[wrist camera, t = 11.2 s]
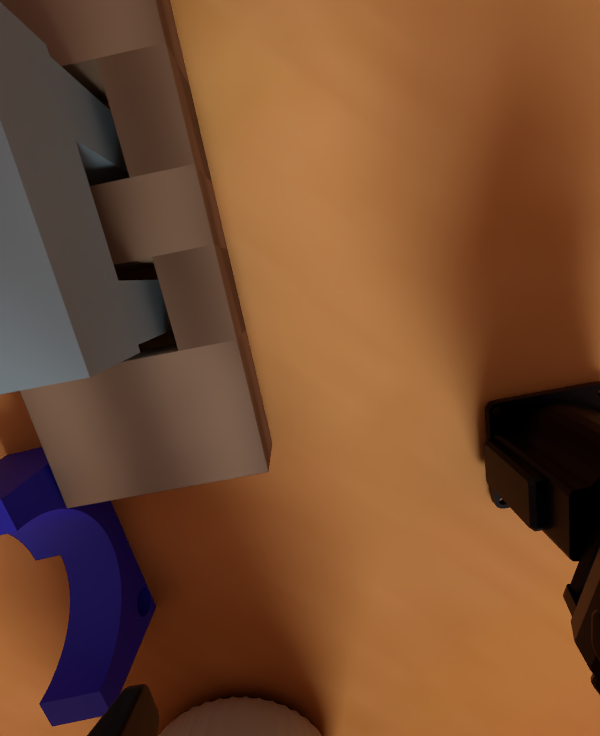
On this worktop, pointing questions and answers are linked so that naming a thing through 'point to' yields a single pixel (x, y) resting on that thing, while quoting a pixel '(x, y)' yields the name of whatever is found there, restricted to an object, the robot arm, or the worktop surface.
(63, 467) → the rail
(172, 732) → the canister
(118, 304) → the grey channel block
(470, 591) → the worktop surface
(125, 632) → the cable clip
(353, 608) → the worktop surface
